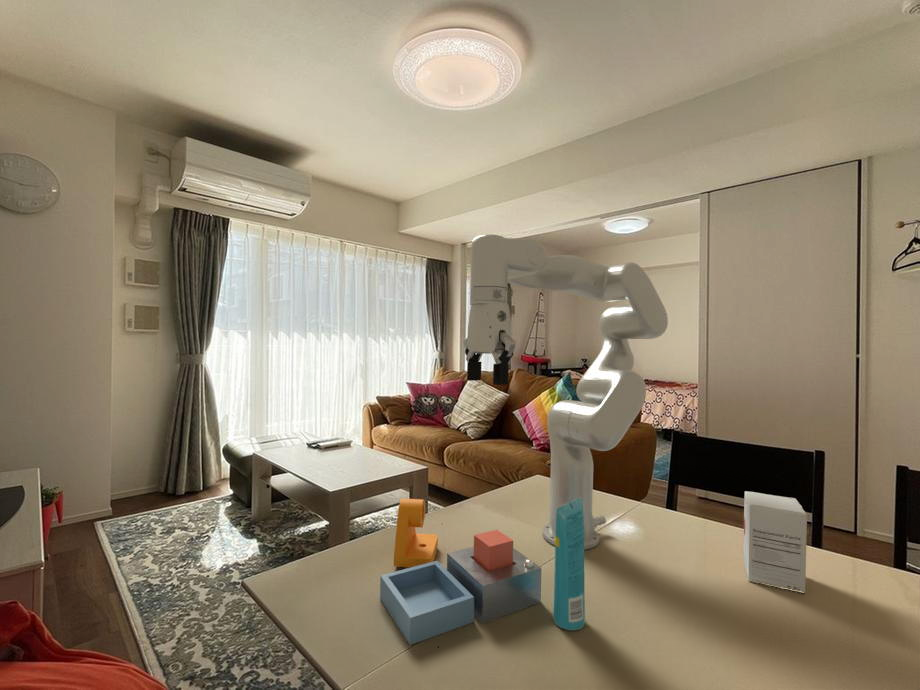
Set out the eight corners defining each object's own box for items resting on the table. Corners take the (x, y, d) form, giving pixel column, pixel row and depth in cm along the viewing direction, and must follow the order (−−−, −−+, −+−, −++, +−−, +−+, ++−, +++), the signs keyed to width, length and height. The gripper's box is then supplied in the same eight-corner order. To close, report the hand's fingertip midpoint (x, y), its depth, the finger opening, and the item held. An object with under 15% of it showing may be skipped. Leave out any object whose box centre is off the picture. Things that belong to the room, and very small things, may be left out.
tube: (565, 605, 73) (567, 493, 73) (592, 617, 70) (594, 500, 70) (543, 626, 68) (546, 505, 68) (572, 640, 65) (574, 513, 65)
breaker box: (500, 569, 84) (501, 534, 84) (540, 602, 74) (541, 561, 74) (446, 585, 78) (447, 547, 78) (482, 623, 68) (483, 579, 68)
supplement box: (742, 561, 90) (743, 489, 90) (795, 572, 86) (797, 497, 86) (746, 582, 82) (748, 503, 82) (806, 595, 78) (808, 513, 78)
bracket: (430, 573, 83) (431, 511, 83) (393, 570, 84) (394, 509, 84) (438, 547, 94) (439, 492, 94) (405, 544, 94) (406, 490, 94)
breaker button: (496, 567, 80) (496, 529, 80) (512, 580, 75) (513, 540, 75) (473, 573, 77) (474, 535, 77) (488, 587, 73) (489, 546, 73)
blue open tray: (436, 582, 80) (437, 560, 80) (473, 622, 68) (474, 597, 68) (380, 598, 74) (380, 575, 74) (409, 645, 63) (410, 617, 63)
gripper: (530, 295, 81) (528, 386, 81) (481, 302, 96) (479, 378, 96) (497, 292, 78) (495, 387, 78) (451, 300, 93) (450, 379, 93)
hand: (486, 382), depth 87 cm, fingers open, 9 cm apart
